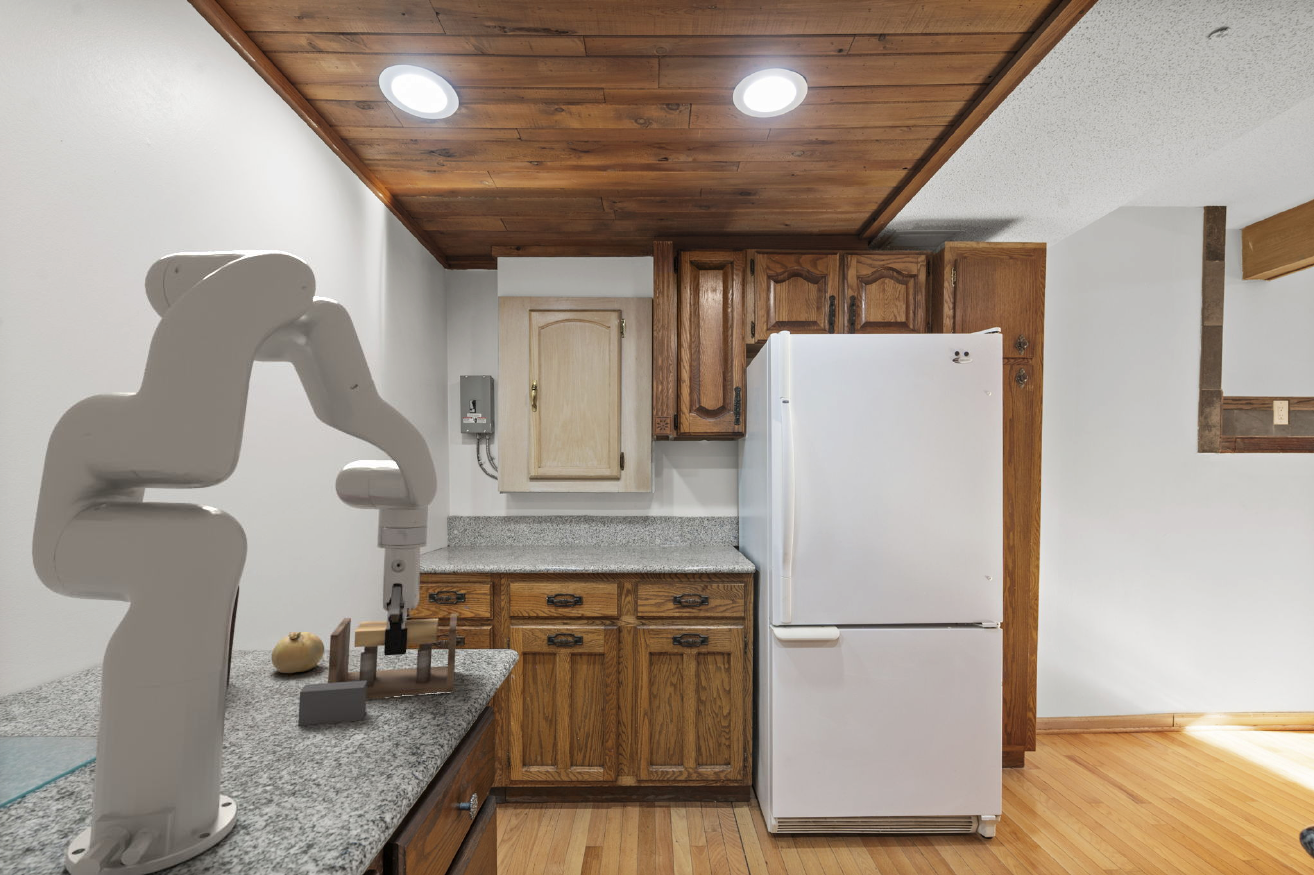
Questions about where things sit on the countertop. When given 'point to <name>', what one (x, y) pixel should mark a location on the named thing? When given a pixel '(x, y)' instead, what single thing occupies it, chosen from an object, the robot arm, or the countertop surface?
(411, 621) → the oak board
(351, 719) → the block
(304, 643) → the onion
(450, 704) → the countertop surface
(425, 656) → the shelf cradle
